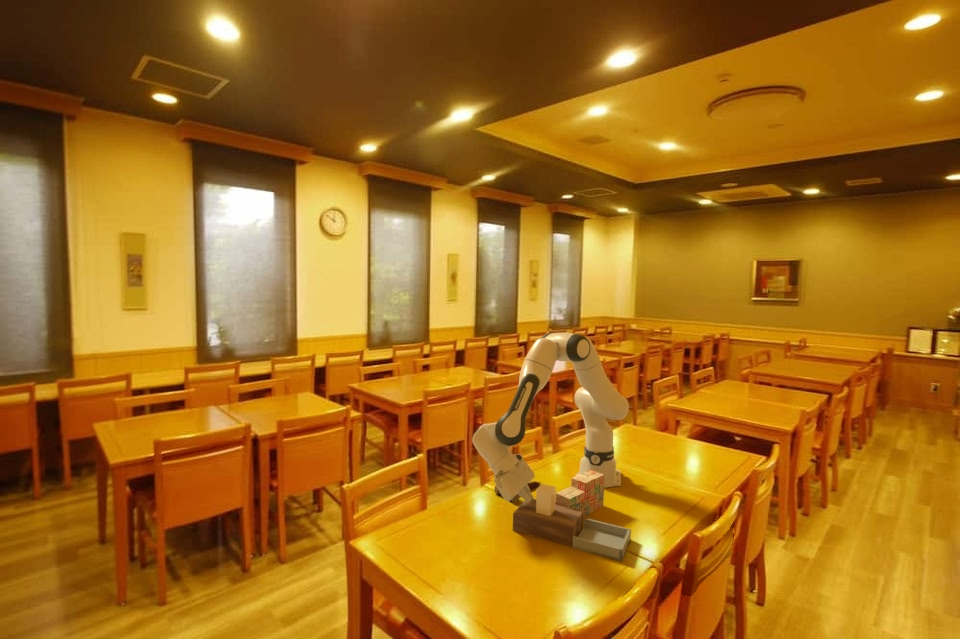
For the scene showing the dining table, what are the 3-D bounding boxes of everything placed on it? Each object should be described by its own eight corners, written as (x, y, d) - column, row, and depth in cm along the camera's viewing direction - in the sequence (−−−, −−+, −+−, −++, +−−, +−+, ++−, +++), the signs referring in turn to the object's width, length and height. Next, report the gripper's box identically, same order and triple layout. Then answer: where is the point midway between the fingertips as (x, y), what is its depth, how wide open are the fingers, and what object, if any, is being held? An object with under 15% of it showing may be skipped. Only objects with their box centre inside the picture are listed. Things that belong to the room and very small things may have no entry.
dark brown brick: (527, 513, 167) (527, 497, 167) (582, 528, 158) (583, 510, 157) (512, 530, 156) (513, 512, 155) (571, 546, 146) (571, 528, 146)
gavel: (531, 473, 196) (549, 481, 188) (531, 484, 196) (549, 492, 189) (494, 483, 183) (512, 492, 175) (493, 494, 183) (511, 504, 175)
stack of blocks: (569, 525, 160) (570, 490, 159) (554, 518, 164) (555, 484, 164) (603, 506, 174) (604, 474, 174) (589, 500, 179) (590, 469, 178)
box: (584, 527, 158) (584, 517, 158) (630, 539, 151) (630, 529, 151) (572, 547, 146) (572, 537, 145) (621, 561, 139) (622, 550, 139)
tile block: (541, 506, 160) (541, 483, 160) (555, 509, 158) (555, 486, 157) (535, 512, 156) (536, 489, 155) (550, 516, 153) (550, 492, 153)
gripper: (498, 471, 153) (525, 507, 149) (522, 452, 171) (547, 484, 167) (486, 482, 155) (512, 518, 151) (511, 462, 173) (535, 493, 169)
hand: (531, 500), depth 159 cm, fingers closed
